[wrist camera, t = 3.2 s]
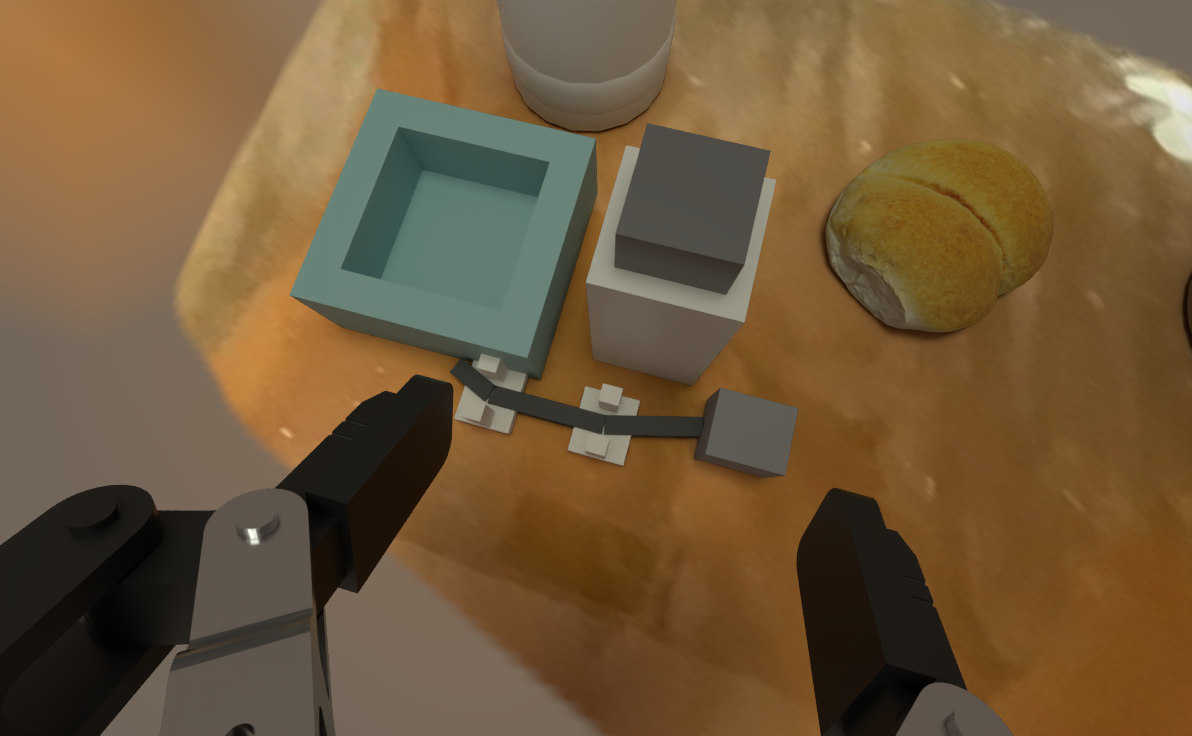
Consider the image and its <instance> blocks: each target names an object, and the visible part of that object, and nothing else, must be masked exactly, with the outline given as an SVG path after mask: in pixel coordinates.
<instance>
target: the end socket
mask: <svg viewBox="0 0 1192 736" xmlns="http://www.w3.org/2000/svg"><path fill="white" fill-rule="evenodd" d="M596 195H597V163H596V138H591V137H587V136H583V135H578V134H574V133H569V132H565V131H561V130H556V129H552V128H548V127H543V126H539V125H534V124H530V123H526V122H521V121H517V120H513V119H508V118H504V117H500V116H495V115H491V114H486V113H482V112H478V111H473V110H469V109H465V108H460V107H456V106H451V105H447V104H443V103H438V102H434V101H430V100H425V99H421V98H417V97H412V96H408V95H403V94H399V93H395V92H390V91H386V90H382V89H377V90H376V93H375V95H374V97H373V100H372V102H371V104H370V107H369V109H368V111H367V114H366V116H365V119H364V121H363V123H362V126H361V128H360V130H359V133H358V135H357V137H356V140H355V142H354V144H353V147H352V149H351V151H350V154H349V156H348V159H347V161H346V163H345V166H344V168H343V170H342V173H341V175H340V177H339V180H338V182H337V184H336V187H335V189H334V191H333V194H332V196H331V198H330V201H329V203H328V206H327V208H326V210H325V213H324V215H323V217H322V220H321V222H320V224H319V227H318V229H317V231H316V234H315V236H314V238H313V241H312V243H311V245H310V248H309V250H308V253H307V255H306V257H305V260H304V262H303V264H302V267H301V269H300V271H299V274H298V276H297V278H296V281H295V283H294V285H293V288H292V290H291V293H290V296H292V297H293V298H295V299H297V300H298V301H300V302H301V303H303V304H305V305H306V306H308V307H309V308H311V309H313V310H314V311H316V312H318V313H319V314H321V315H322V316H324V317H326V318H327V319H329V320H330V321H332V322H334V323H335V324H337V325H339V326H340V327H343V328H347V329H351V330H355V331H358V332H362V333H366V334H370V335H373V336H377V337H381V338H385V339H388V340H392V341H396V342H400V343H403V344H407V345H411V346H415V347H418V348H422V349H426V350H429V351H433V352H437V353H441V354H444V355H448V356H452V357H456V358H459V359H462V358H463V359H464V360H467V361H471V362H473V361H474V360H476V361H479V359H480V356H481V354H485V355H488V356H492V357H496V358H500V359H501V360H502V361H503V363H504V364H505V365H506V366H507V368H508V369H509V370H513V371H517V372H521V373H524V374H527V375H528V377H530V378H534V379H538V380H541V377H542V373H543V370H544V367H545V363H546V360H547V357H548V354H549V350H550V347H551V344H552V340H553V337H554V334H555V330H556V327H557V324H558V321H559V317H560V314H561V311H562V307H563V304H564V301H565V298H566V294H567V291H568V288H569V284H570V281H571V278H572V274H573V271H574V268H575V265H576V261H577V258H578V255H579V251H580V248H581V245H582V242H583V238H584V235H585V232H586V228H587V225H588V222H589V218H590V215H591V212H592V209H593V205H594V202H595V199H596Z"/></svg>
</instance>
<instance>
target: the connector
mask: <svg viewBox="0 0 1192 736" xmlns="http://www.w3.org/2000/svg"><path fill="white" fill-rule="evenodd" d="M769 156H770V151H769V150H764V149H760V148H755V147H751V146H746V145H742V144H737V143H733V142H729V141H724V140H720V139H715V138H711V137H706V136H702V135H697V134H693V133H689V132H684V131H680V130H675V129H671V128H666V127H662V126H657V125H653V124H649V123H647V127H646V130H645V134H644V137H643V140H642V144H641V147H640V148H636V147H631V146H627V145H626V149H625V152H624V155H623V159H622V162H621V165H620V169H619V172H618V176H617V179H616V182H615V186H614V189H613V192H612V196H611V199H610V203H609V206H608V209H607V213H606V216H605V219H604V223H603V226H602V230H601V233H600V236H599V240H598V243H597V246H596V250H595V253H594V256H593V260H592V263H591V267H590V270H589V273H588V277H587V280H586V290H587V300H588V311H589V321H590V332H591V342H592V352H593V360H595V361H599V362H603V363H607V364H611V365H614V366H618V367H622V368H626V369H630V370H634V371H637V372H641V373H645V374H649V375H653V376H656V377H660V378H664V379H668V380H672V381H675V382H679V383H683V384H687V385H691V386H693V384H694V383H695V382H696V381H697V380H698V378H699V377H700V376H701V375H702V373H703V372H704V371H705V370H706V369H707V367H708V366H709V365H710V364H711V363H712V361H713V360H714V359H715V358H716V356H717V355H718V354H719V353H720V352H721V350H722V349H723V348H724V347H725V345H726V344H727V343H728V342H729V341H730V339H731V338H732V337H733V336H734V335H735V333H736V332H737V331H738V330H739V328H740V327H741V326H742V325H743V324H744V322H745V318H746V313H747V309H748V304H749V300H750V295H751V291H752V286H753V282H754V277H755V273H756V269H757V264H758V260H759V255H760V251H761V246H762V242H763V237H764V233H765V228H766V224H767V219H768V215H769V210H770V206H771V201H772V197H773V192H774V188H775V183H776V180H775V179H771V178H767V177H765V173H766V169H767V164H768V160H769Z"/></svg>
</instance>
